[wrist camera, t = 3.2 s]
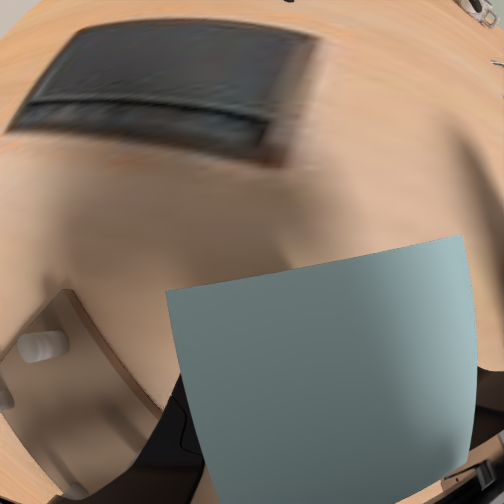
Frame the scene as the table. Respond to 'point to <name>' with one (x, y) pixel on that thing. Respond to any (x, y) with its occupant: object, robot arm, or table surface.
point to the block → (332, 376)
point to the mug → (479, 11)
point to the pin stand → (74, 400)
